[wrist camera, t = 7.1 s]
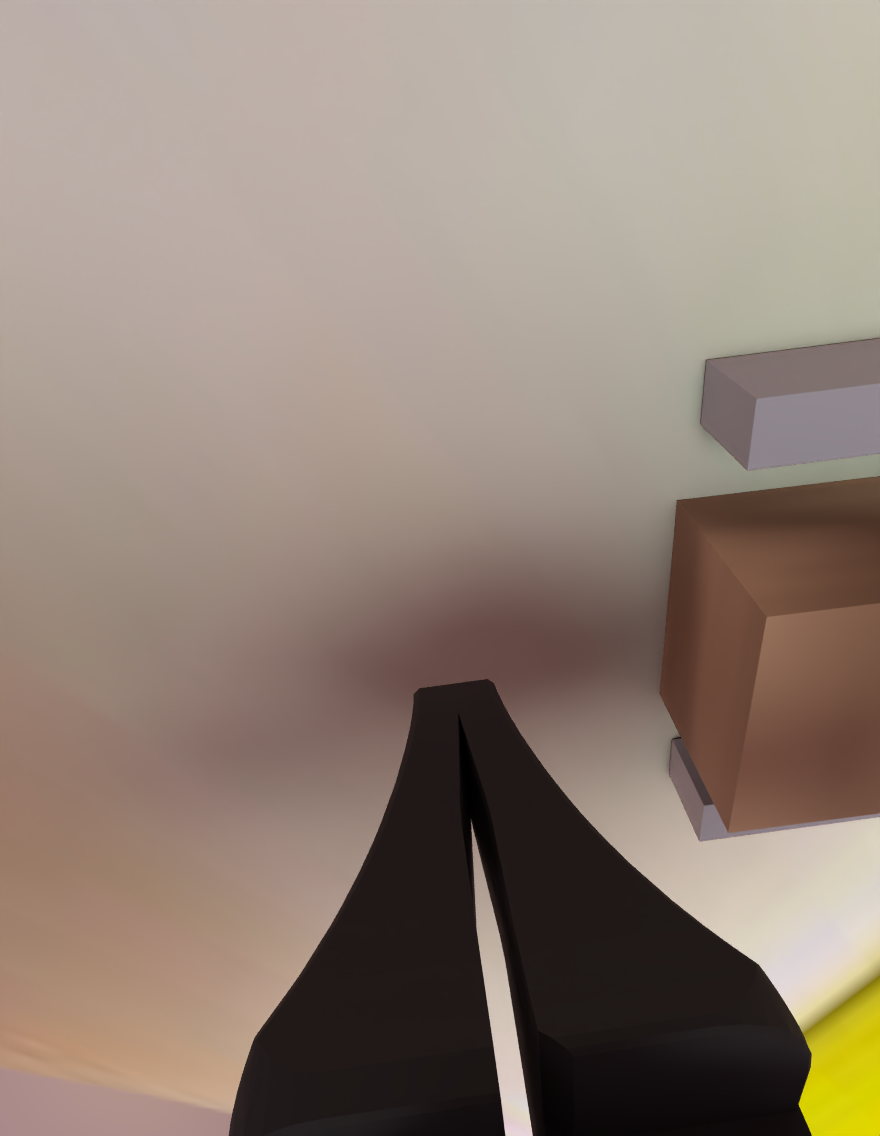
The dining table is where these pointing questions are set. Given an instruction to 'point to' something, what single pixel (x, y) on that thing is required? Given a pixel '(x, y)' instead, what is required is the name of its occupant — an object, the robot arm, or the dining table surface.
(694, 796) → the purple-grey c-shaped block
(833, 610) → the wooden cube block
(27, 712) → the dining table surface
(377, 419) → the dining table surface
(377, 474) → the dining table surface
